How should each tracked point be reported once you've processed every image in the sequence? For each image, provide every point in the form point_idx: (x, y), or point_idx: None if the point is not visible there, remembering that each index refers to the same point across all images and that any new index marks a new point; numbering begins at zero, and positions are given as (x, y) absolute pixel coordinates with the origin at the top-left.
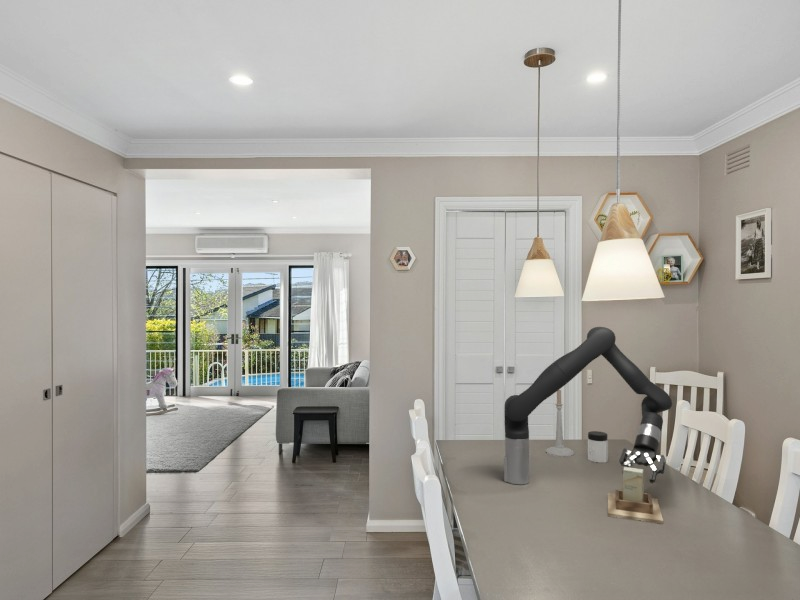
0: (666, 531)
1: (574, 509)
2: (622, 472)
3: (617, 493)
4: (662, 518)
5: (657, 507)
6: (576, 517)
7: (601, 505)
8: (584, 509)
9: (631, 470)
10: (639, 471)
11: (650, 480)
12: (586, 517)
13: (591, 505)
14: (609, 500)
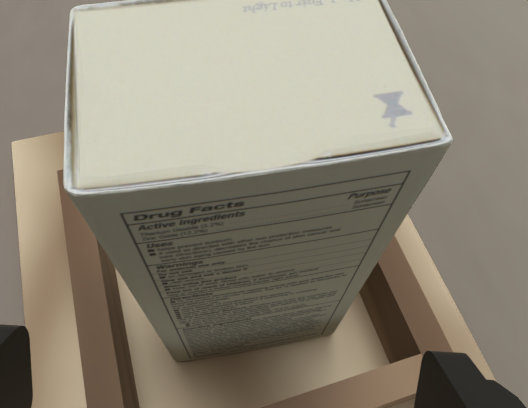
0: (6, 74)
1: (517, 81)
2: (507, 393)
3: (391, 265)
4: (14, 176)
5: (49, 389)
6: (443, 7)
7: (447, 227)
8: (480, 109)
9: (256, 12)
10: (125, 38)
11: (9, 325)
12: (409, 28)
13: (492, 188)
14: (437, 294)
